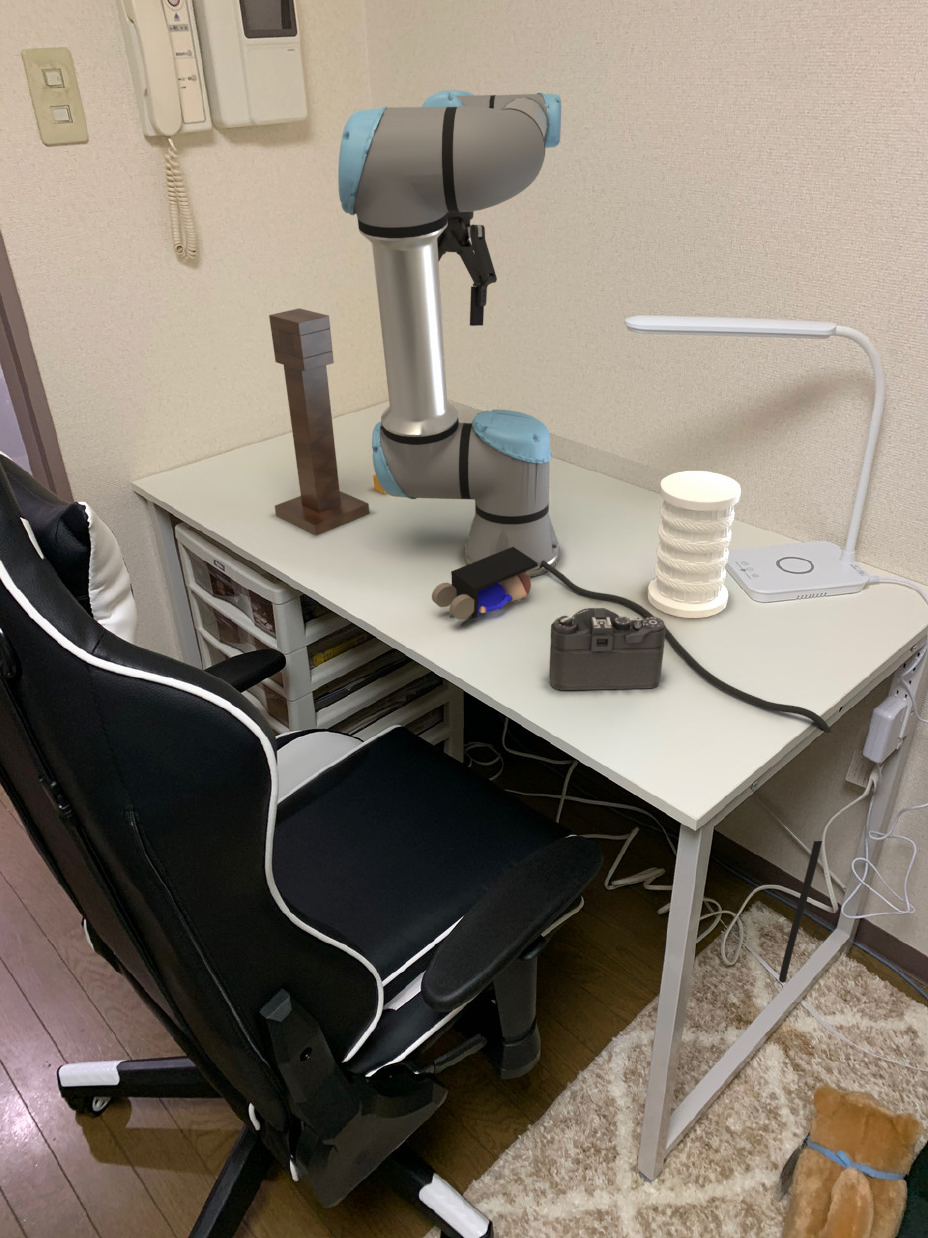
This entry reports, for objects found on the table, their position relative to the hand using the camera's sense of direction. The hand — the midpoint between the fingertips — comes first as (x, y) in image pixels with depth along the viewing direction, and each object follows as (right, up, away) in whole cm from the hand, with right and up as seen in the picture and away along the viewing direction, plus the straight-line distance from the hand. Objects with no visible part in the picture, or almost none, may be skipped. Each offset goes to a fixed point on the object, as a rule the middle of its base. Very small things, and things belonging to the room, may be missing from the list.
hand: (449, 322), depth 164 cm
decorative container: (+36, -51, -30) cm, 69 cm away
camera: (+21, -61, -45) cm, 79 cm away
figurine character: (+6, -53, -32) cm, 62 cm away
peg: (-7, -27, +11) cm, 30 cm away
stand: (-23, -35, -2) cm, 42 cm away
